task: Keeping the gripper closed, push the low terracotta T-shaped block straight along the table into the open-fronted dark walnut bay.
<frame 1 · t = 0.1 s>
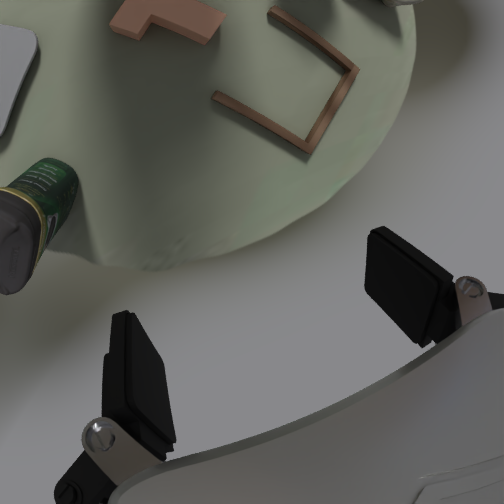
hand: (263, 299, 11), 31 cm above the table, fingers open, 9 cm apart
t block: (166, 13, 26), on the table
coffee jar: (51, 191, 33), on the table
walnut bay: (286, 76, 35), on the table
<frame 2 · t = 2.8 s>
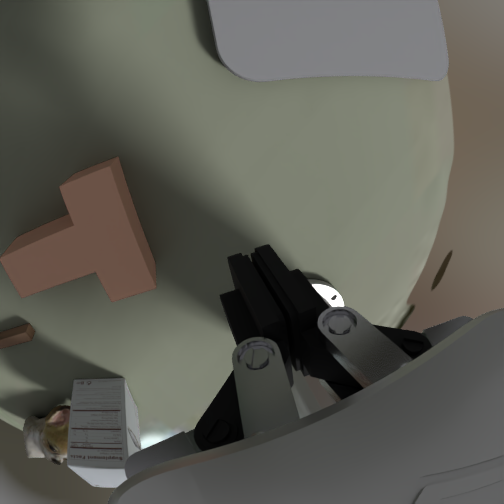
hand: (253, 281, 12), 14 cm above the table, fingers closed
t block: (84, 231, 22), on the table
tablet: (340, 2, 18), on the table
ceramic sculpture: (61, 416, 32), on the table
supplement box: (106, 392, 31), on the table
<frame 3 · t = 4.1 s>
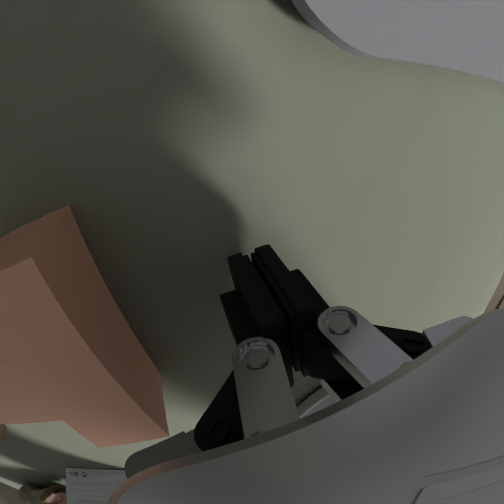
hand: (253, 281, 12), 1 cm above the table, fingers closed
t block: (36, 332, 11), on the table
ceramic sculpture: (57, 486, 21), on the table
supplement box: (107, 477, 21), on the table
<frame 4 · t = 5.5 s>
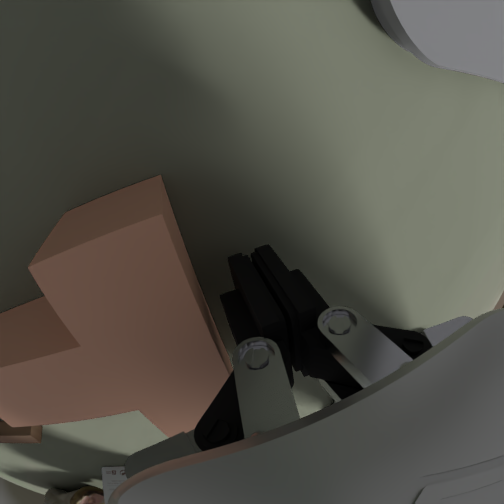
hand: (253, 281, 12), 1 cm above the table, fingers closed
t block: (98, 317, 12), on the table, touching gripper
ceramic sculpture: (86, 488, 22), on the table
supplement box: (144, 474, 22), on the table
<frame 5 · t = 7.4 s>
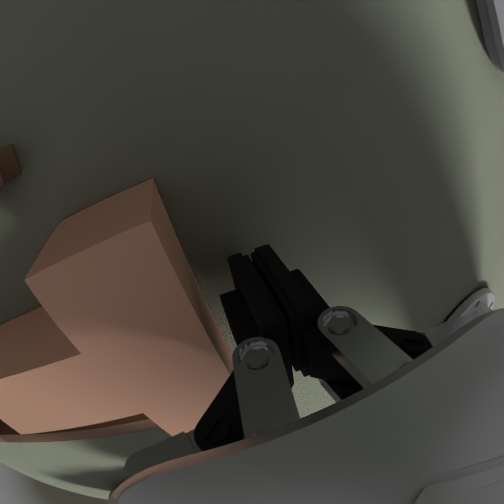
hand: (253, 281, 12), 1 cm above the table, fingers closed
t block: (100, 322, 12), on the table, touching gripper
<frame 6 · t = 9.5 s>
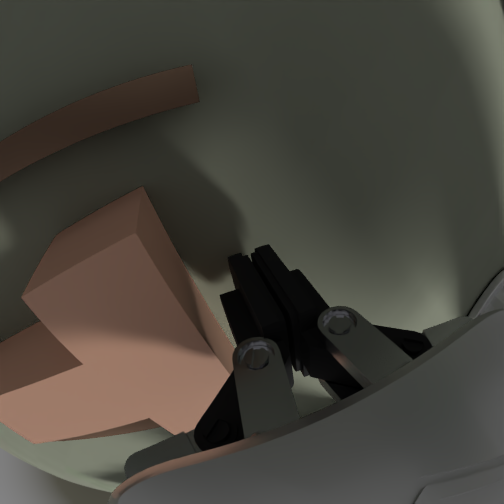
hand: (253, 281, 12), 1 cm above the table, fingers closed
t block: (104, 330, 12), on the table, touching gripper
walnut bay: (78, 319, 11), on the table
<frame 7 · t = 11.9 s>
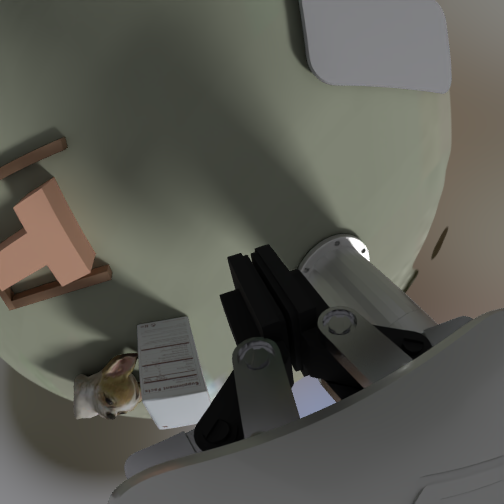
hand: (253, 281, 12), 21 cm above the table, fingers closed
t block: (41, 235, 26), on the table
tablet: (381, 31, 27), on the table
walnut bay: (32, 230, 25), on the table
ceramic sculpture: (112, 372, 39), on the table
supplement box: (166, 336, 39), on the table
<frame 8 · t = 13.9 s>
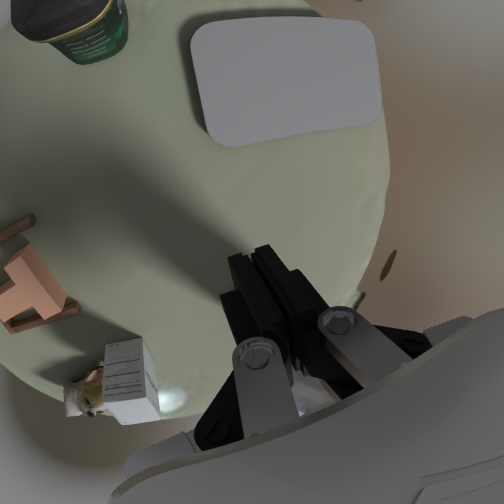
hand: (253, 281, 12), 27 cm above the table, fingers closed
t block: (27, 282, 34), on the table
tablet: (293, 74, 33), on the table
coffee jar: (98, 28, 22), on the table
walnut bay: (20, 278, 33), on the table
ceramic sculpture: (94, 379, 47), on the table
supplement box: (130, 352, 46), on the table
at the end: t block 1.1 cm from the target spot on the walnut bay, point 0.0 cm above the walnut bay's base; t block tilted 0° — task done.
